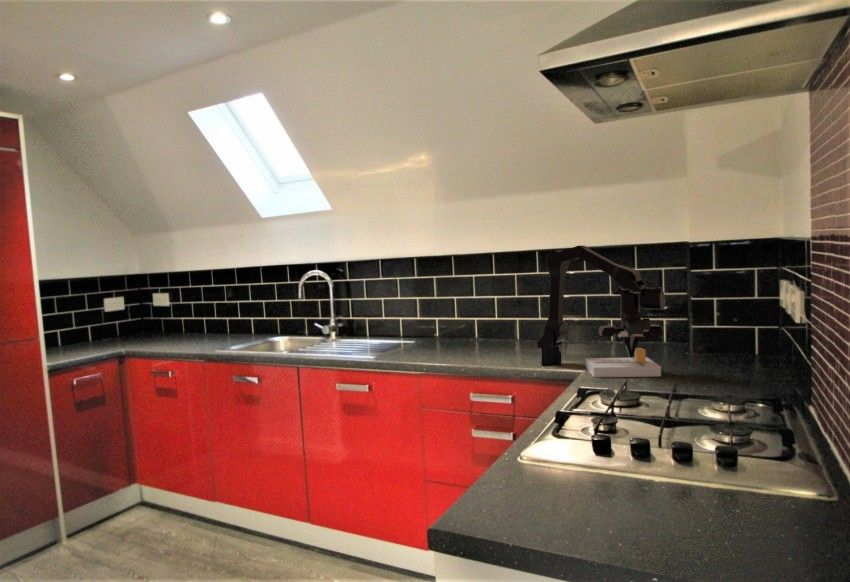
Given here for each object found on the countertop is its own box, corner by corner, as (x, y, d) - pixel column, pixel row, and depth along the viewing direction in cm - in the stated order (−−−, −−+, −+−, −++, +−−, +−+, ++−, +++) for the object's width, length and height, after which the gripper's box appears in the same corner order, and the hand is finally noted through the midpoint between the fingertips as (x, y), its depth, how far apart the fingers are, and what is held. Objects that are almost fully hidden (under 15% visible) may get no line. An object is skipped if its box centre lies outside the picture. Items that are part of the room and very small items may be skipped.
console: (593, 377, 182) (593, 367, 182) (585, 367, 198) (585, 358, 198) (661, 376, 180) (660, 366, 180) (647, 366, 196) (647, 356, 195)
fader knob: (637, 369, 186) (637, 350, 186) (634, 367, 190) (634, 348, 190) (645, 369, 186) (645, 349, 186) (642, 367, 190) (642, 347, 190)
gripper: (604, 312, 180) (605, 362, 181) (668, 310, 178) (668, 361, 179) (598, 308, 191) (599, 356, 192) (657, 307, 189) (658, 355, 190)
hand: (630, 357), depth 188 cm, fingers closed
